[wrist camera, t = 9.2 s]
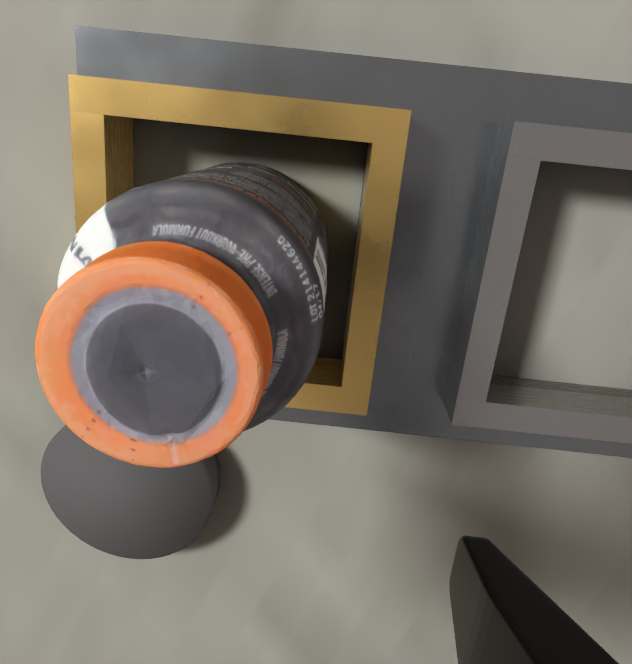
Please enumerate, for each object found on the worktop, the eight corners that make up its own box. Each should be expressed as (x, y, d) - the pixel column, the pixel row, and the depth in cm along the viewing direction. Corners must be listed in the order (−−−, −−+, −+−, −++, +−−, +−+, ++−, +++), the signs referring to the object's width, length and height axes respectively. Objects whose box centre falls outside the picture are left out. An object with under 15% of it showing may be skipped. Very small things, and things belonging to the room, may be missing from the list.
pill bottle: (133, 226, 20) (-107, 327, 9) (263, 125, 18) (163, 104, 8) (233, 353, 21) (130, 568, 11) (361, 268, 20) (390, 414, 9)
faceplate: (691, 453, 22) (733, 491, 20) (100, 391, 22) (72, 421, 20) (824, 108, 18) (899, 102, 15) (86, 30, 18) (47, 13, 15)
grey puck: (252, 494, 23) (244, 517, 22) (130, 556, 25) (116, 581, 24) (150, 366, 22) (135, 383, 20) (27, 442, 23) (5, 462, 22)
